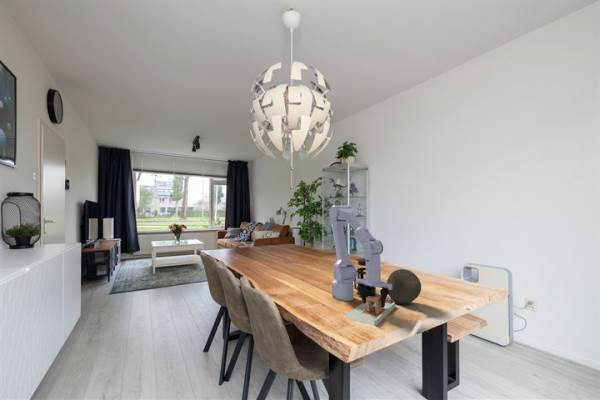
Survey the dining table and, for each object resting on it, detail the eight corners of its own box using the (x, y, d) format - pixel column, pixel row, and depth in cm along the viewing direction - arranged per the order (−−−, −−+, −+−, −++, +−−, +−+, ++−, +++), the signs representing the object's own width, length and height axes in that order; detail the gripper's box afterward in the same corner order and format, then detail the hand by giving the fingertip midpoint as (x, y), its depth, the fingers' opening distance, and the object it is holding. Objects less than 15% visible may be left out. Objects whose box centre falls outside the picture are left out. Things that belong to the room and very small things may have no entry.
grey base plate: (343, 320, 103) (343, 312, 103) (365, 303, 120) (365, 296, 121) (376, 329, 95) (376, 320, 95) (395, 309, 113) (395, 302, 113)
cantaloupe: (390, 309, 114) (389, 273, 114) (384, 297, 127) (384, 266, 128) (425, 310, 112) (424, 274, 112) (415, 299, 126) (415, 266, 126)
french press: (370, 290, 139) (370, 245, 140) (381, 295, 130) (380, 248, 131) (350, 292, 136) (349, 246, 136) (359, 298, 127) (359, 249, 127)
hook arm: (368, 317, 105) (367, 301, 105) (377, 308, 114) (377, 293, 114) (371, 318, 104) (371, 302, 104) (381, 309, 113) (381, 294, 113)
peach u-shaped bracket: (366, 310, 108) (366, 297, 109) (368, 309, 110) (368, 295, 111) (378, 313, 106) (378, 299, 106) (380, 311, 107) (380, 298, 108)
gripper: (352, 270, 109) (352, 303, 109) (387, 275, 101) (388, 311, 101) (359, 267, 115) (359, 299, 115) (393, 271, 107) (394, 306, 106)
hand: (373, 304), depth 108 cm, fingers open, 7 cm apart
